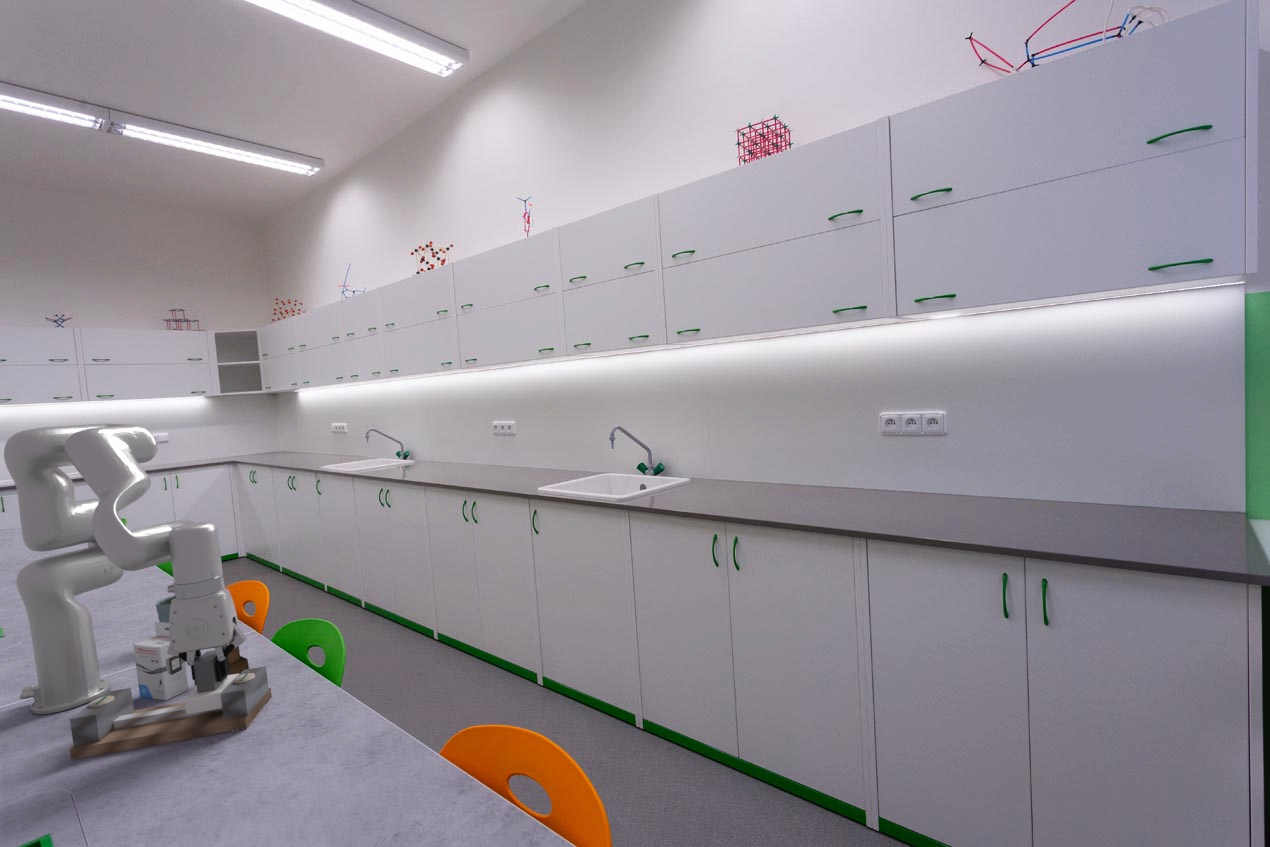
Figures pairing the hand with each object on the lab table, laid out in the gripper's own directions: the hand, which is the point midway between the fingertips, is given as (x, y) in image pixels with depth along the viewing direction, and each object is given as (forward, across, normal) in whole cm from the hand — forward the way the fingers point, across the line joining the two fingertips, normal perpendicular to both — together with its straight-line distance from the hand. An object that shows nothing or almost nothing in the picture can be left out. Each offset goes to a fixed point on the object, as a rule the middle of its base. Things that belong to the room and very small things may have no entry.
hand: (212, 679), depth 114 cm
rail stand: (+8, -6, 0) cm, 10 cm away
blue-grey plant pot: (+8, -28, +49) cm, 57 cm away
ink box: (+8, -18, +17) cm, 26 cm away
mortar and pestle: (+8, -6, +22) cm, 24 cm away
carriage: (+4, 0, 0) cm, 4 cm away
